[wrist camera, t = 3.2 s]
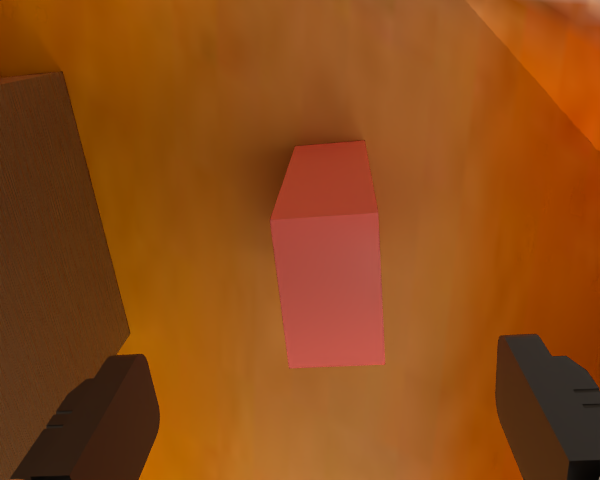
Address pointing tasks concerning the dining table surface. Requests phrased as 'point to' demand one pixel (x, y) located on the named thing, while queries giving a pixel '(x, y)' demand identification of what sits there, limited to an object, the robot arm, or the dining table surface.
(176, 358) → the dining table surface
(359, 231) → the red rectangular block
